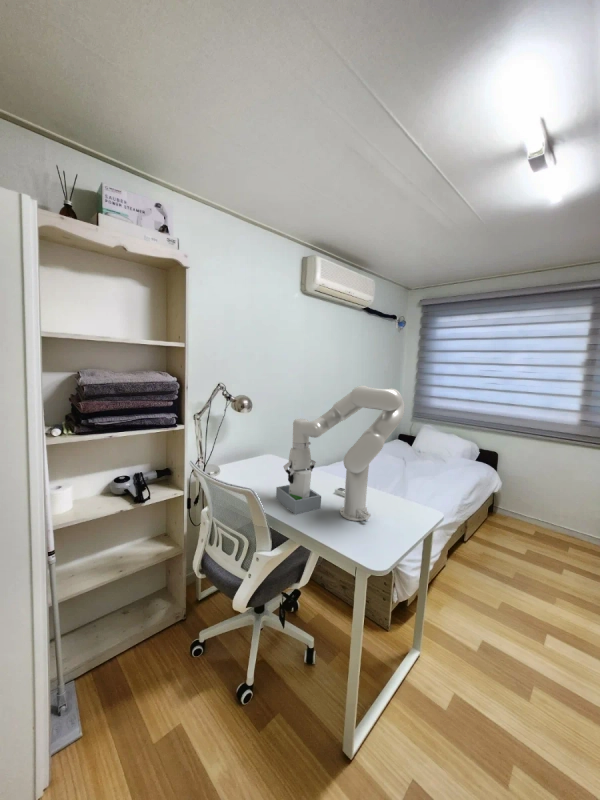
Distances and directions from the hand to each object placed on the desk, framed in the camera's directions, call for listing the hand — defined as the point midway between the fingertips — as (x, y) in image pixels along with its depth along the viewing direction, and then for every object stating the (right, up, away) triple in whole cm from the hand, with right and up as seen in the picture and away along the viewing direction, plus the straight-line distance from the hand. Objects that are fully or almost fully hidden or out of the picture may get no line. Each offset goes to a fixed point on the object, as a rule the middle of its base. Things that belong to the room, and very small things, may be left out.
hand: (299, 480), depth 145 cm
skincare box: (0, -10, +1) cm, 11 cm away
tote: (-1, -11, +1) cm, 11 cm away
